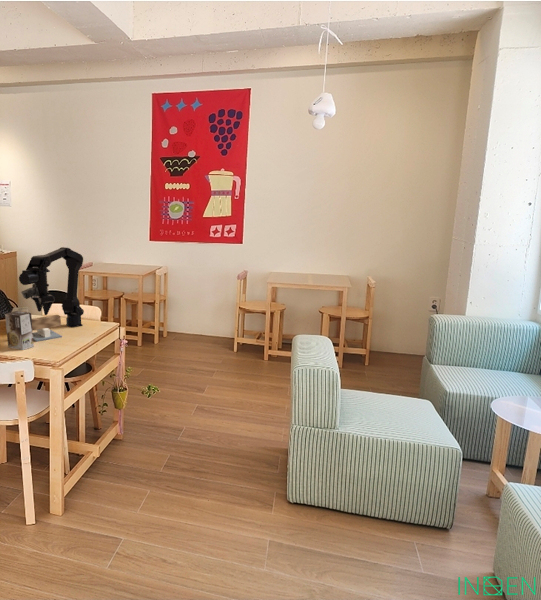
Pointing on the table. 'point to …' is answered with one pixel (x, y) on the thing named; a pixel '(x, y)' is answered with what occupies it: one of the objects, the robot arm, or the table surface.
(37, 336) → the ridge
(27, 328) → the coffee box
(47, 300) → the robot arm
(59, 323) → the beam
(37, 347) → the table surface
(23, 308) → the block tower
